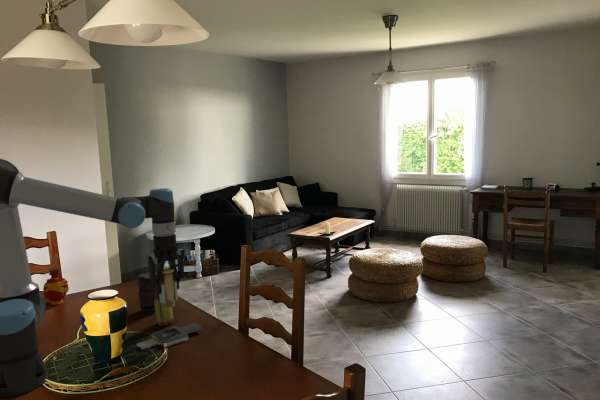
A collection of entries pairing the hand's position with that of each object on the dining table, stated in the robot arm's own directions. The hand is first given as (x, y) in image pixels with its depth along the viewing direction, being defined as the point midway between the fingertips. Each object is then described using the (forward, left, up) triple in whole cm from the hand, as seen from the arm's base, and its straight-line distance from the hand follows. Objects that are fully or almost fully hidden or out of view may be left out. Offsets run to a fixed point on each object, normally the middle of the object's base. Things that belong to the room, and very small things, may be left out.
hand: (168, 300), depth 161 cm
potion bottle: (-20, +70, -14) cm, 74 cm away
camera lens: (+6, +32, -14) cm, 36 cm away
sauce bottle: (+4, +15, -14) cm, 21 cm away
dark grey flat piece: (0, 0, -14) cm, 14 cm away
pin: (0, 0, -2) cm, 2 cm away
